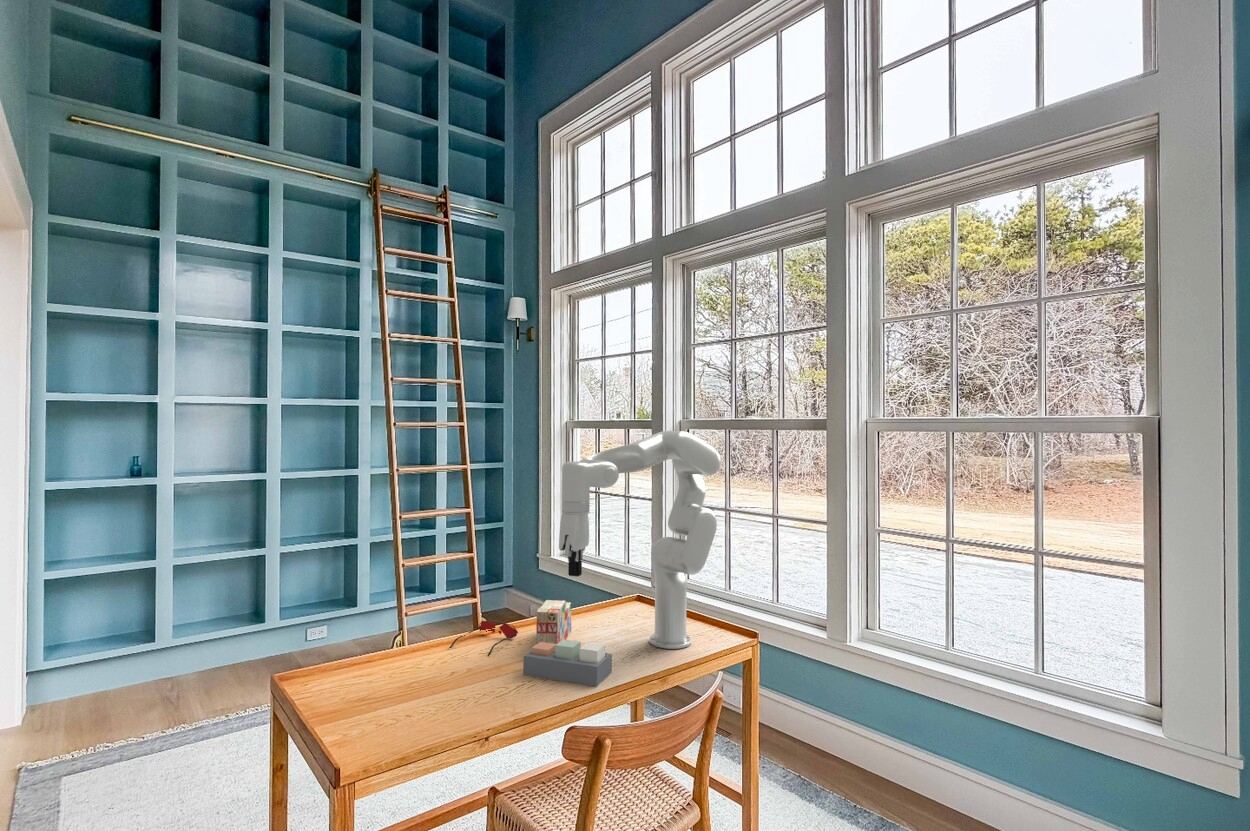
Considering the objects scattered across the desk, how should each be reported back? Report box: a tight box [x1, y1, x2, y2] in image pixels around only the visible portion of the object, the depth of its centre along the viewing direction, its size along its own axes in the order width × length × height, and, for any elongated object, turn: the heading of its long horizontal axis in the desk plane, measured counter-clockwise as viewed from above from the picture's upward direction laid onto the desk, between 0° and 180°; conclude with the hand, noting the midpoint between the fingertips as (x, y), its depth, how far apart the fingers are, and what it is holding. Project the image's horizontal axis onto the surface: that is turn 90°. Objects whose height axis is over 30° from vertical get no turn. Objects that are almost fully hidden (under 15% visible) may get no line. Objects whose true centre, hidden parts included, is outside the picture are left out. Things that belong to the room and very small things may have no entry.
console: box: [522, 649, 613, 688], centre depth 175 cm, size 10×21×5 cm, turn 69°
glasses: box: [448, 620, 519, 657], centre depth 198 cm, size 14×16×5 cm
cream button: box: [580, 642, 606, 663], centre depth 173 cm, size 5×5×5 cm
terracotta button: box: [531, 642, 556, 656], centre depth 178 cm, size 5×5×5 cm
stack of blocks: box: [535, 599, 572, 645], centre depth 201 cm, size 21×6×12 cm, turn 174°
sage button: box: [555, 639, 582, 660], centre depth 175 cm, size 5×5×5 cm
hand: (575, 575), depth 179 cm, fingers closed
